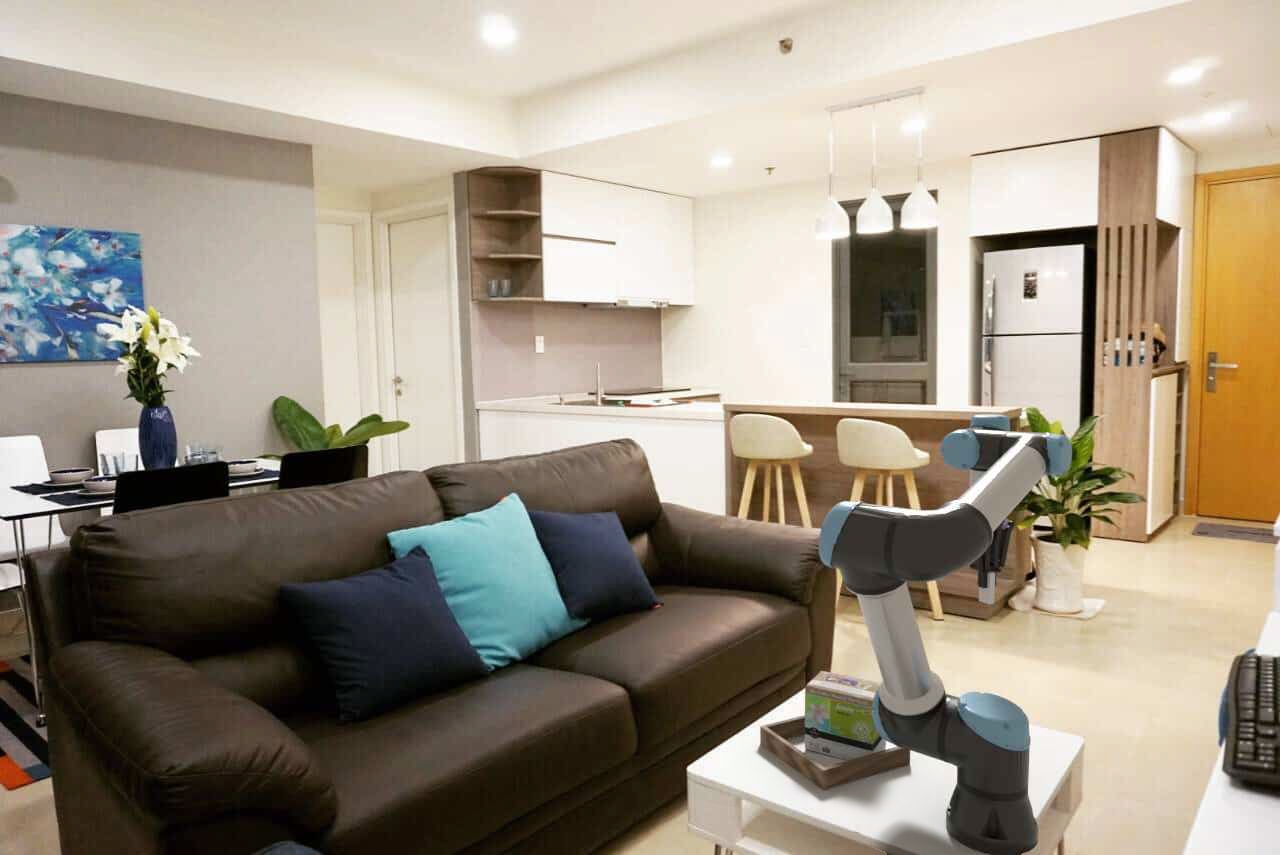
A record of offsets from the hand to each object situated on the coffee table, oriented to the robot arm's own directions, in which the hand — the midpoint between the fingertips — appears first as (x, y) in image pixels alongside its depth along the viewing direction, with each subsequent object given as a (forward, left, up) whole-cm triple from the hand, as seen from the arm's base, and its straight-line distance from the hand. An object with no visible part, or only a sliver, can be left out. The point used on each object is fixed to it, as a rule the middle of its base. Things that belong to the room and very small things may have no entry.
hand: (986, 602), depth 179 cm
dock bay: (+14, +29, -32) cm, 45 cm away
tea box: (+14, +25, -33) cm, 44 cm away
